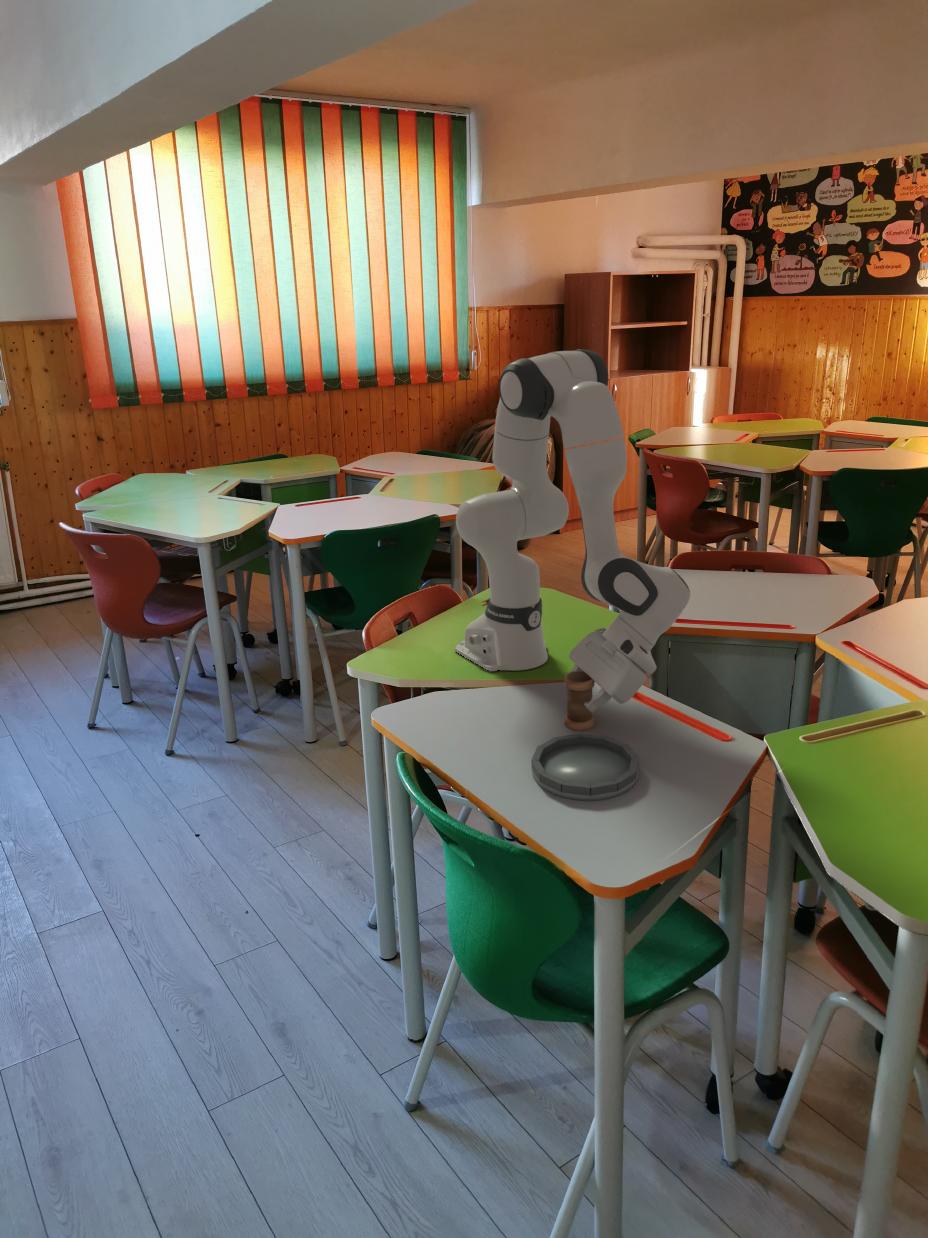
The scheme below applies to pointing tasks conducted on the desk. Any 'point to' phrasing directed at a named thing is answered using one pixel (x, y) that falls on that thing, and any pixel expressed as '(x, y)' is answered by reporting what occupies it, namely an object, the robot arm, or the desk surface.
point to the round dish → (585, 767)
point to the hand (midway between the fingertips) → (577, 698)
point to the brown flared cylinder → (578, 701)
